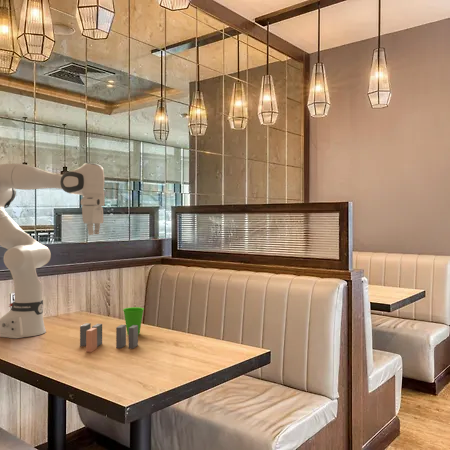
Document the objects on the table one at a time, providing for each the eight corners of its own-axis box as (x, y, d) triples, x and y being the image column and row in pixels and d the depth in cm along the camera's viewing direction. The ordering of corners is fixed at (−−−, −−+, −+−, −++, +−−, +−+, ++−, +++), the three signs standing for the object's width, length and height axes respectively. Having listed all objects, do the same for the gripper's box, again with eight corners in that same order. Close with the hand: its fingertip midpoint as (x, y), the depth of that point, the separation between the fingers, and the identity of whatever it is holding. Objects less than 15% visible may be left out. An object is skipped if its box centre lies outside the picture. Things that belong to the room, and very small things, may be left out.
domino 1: (80, 346, 179) (80, 325, 179) (85, 342, 184) (85, 323, 184) (84, 346, 179) (84, 326, 179) (90, 343, 184) (90, 323, 184)
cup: (146, 332, 202) (146, 307, 202) (140, 337, 193) (140, 311, 193) (126, 331, 203) (126, 307, 203) (120, 336, 194) (120, 311, 194)
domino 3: (92, 346, 178) (92, 326, 178) (97, 343, 183) (97, 323, 183) (96, 347, 178) (96, 326, 178) (102, 343, 183) (102, 323, 183)
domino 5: (128, 348, 176) (128, 327, 176) (133, 345, 181) (133, 325, 181) (133, 348, 176) (133, 328, 176) (137, 345, 180) (137, 325, 180)
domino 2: (86, 352, 171) (86, 330, 171) (92, 348, 176) (92, 327, 176) (91, 352, 171) (91, 331, 171) (97, 348, 176) (96, 327, 176)
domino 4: (116, 348, 177) (116, 327, 177) (121, 344, 182) (121, 324, 182) (121, 348, 176) (121, 327, 176) (125, 344, 181) (126, 324, 181)
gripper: (92, 202, 201) (92, 233, 201) (79, 200, 181) (79, 235, 181) (106, 202, 201) (107, 233, 201) (95, 200, 181) (95, 235, 181)
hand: (93, 234), depth 191 cm, fingers open, 8 cm apart
